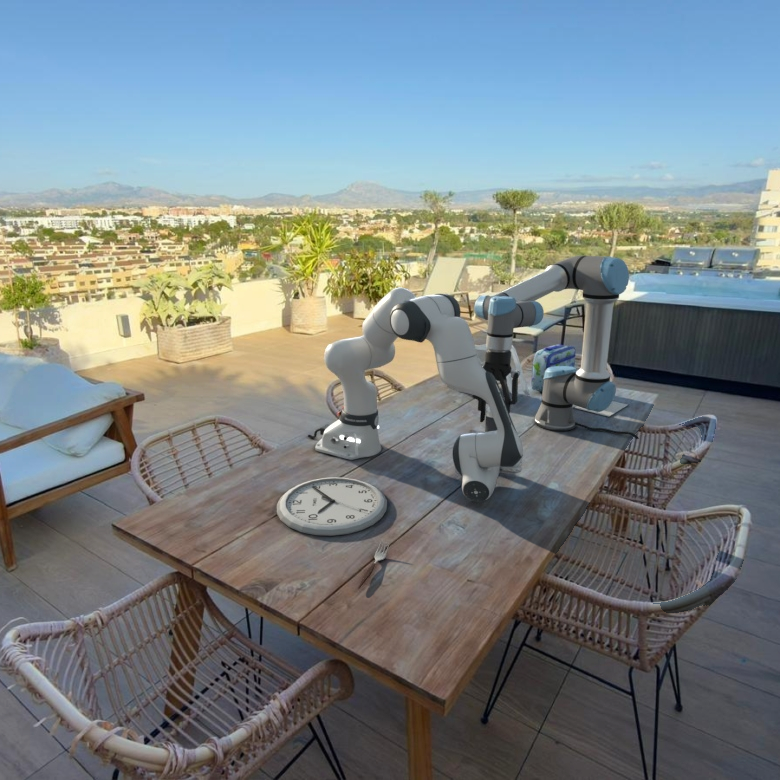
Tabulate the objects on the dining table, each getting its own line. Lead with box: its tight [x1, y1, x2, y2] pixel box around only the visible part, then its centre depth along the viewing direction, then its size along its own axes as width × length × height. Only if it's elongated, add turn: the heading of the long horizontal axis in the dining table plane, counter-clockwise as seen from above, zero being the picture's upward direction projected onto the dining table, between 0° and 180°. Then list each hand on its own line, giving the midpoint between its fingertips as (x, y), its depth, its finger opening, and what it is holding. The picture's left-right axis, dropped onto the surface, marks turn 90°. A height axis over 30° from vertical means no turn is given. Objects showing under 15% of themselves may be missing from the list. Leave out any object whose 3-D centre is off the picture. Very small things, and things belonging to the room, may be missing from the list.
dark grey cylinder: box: [484, 415, 497, 432], centre depth 163 cm, size 4×4×19 cm
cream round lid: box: [485, 406, 493, 418], centre depth 161 cm, size 5×5×2 cm
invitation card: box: [573, 400, 629, 418], centre depth 226 cm, size 21×1×15 cm
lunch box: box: [530, 344, 577, 392], centre depth 247 cm, size 26×11×21 cm, turn 134°
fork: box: [357, 541, 391, 589], centre depth 116 cm, size 3×16×2 cm, turn 160°
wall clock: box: [276, 476, 388, 537], centre depth 142 cm, size 30×2×30 cm
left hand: (490, 449), depth 165 cm, fingers closed on dark grey cylinder, 4 cm apart
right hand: (492, 422), depth 162 cm, fingers open, 6 cm apart
